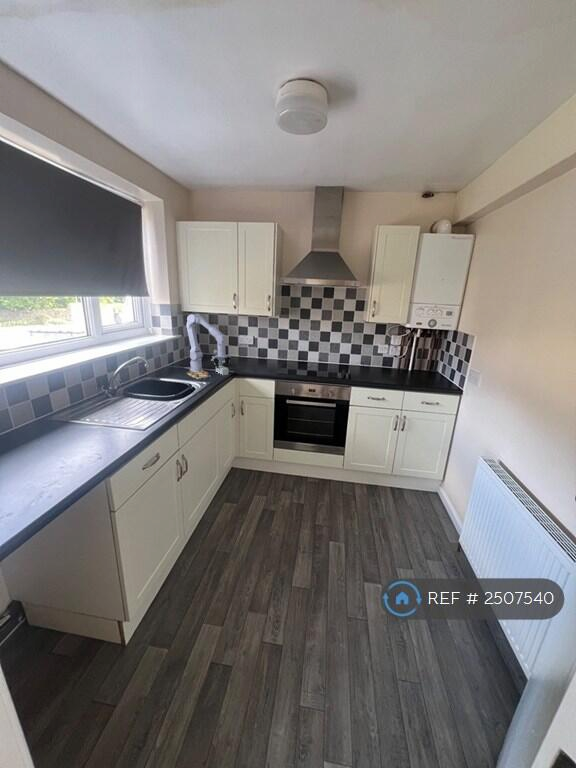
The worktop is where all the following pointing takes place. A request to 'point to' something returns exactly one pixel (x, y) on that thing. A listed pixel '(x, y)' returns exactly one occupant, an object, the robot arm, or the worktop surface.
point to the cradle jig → (199, 374)
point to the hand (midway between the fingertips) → (222, 367)
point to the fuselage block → (222, 370)
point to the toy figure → (221, 360)
